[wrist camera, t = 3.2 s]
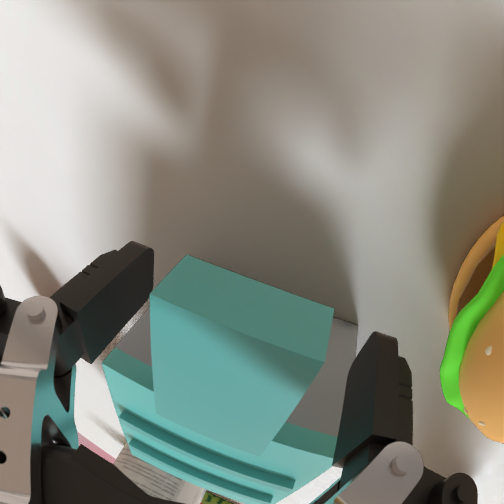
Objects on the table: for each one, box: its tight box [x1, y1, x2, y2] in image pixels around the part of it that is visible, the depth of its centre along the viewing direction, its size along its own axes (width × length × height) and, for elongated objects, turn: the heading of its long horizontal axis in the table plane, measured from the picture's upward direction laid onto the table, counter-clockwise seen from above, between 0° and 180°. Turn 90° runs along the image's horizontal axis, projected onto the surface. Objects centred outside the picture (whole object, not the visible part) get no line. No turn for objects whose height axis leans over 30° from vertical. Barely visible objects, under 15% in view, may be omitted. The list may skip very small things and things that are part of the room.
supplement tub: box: [113, 443, 206, 504], centre depth 24 cm, size 10×10×15 cm
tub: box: [116, 307, 358, 437], centre depth 17 cm, size 10×12×7 cm
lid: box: [102, 255, 337, 504], centre depth 12 cm, size 10×18×3 cm, turn 168°
